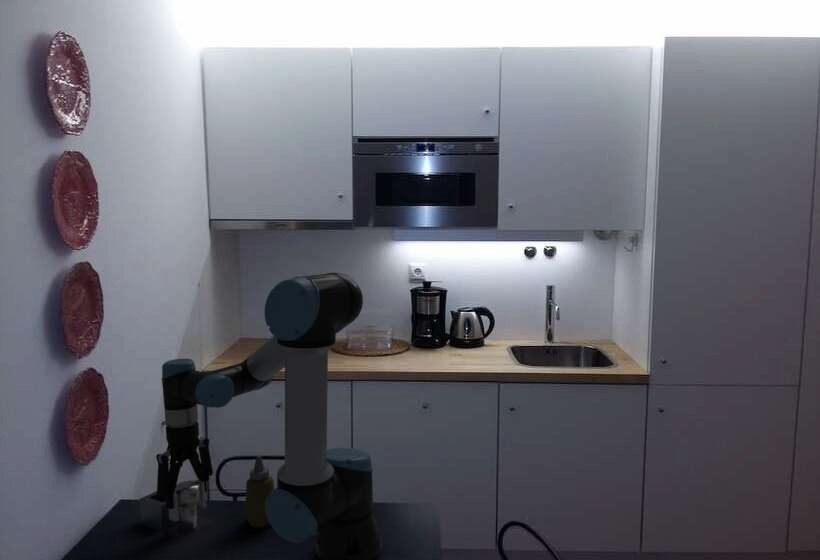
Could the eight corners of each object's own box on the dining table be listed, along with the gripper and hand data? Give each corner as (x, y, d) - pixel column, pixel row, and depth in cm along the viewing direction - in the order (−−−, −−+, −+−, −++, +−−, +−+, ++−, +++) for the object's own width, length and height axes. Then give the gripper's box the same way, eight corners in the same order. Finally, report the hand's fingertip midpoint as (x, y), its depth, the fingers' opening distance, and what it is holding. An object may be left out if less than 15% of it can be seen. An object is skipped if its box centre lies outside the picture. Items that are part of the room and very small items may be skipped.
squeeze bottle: (270, 535, 146) (266, 463, 144) (239, 532, 147) (235, 461, 145) (283, 518, 153) (280, 450, 152) (254, 516, 155) (251, 449, 153)
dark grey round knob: (206, 524, 149) (204, 483, 148) (186, 535, 144) (183, 493, 143) (191, 518, 152) (188, 478, 151) (170, 529, 147) (167, 488, 146)
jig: (213, 525, 151) (211, 497, 150) (179, 543, 143) (177, 514, 142) (173, 510, 160) (171, 484, 159) (139, 527, 151) (136, 499, 150)
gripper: (205, 409, 156) (210, 493, 158) (134, 433, 139) (141, 527, 141) (225, 413, 152) (230, 499, 154) (154, 438, 135) (161, 535, 137)
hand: (187, 512), depth 148 cm, fingers open, 7 cm apart
